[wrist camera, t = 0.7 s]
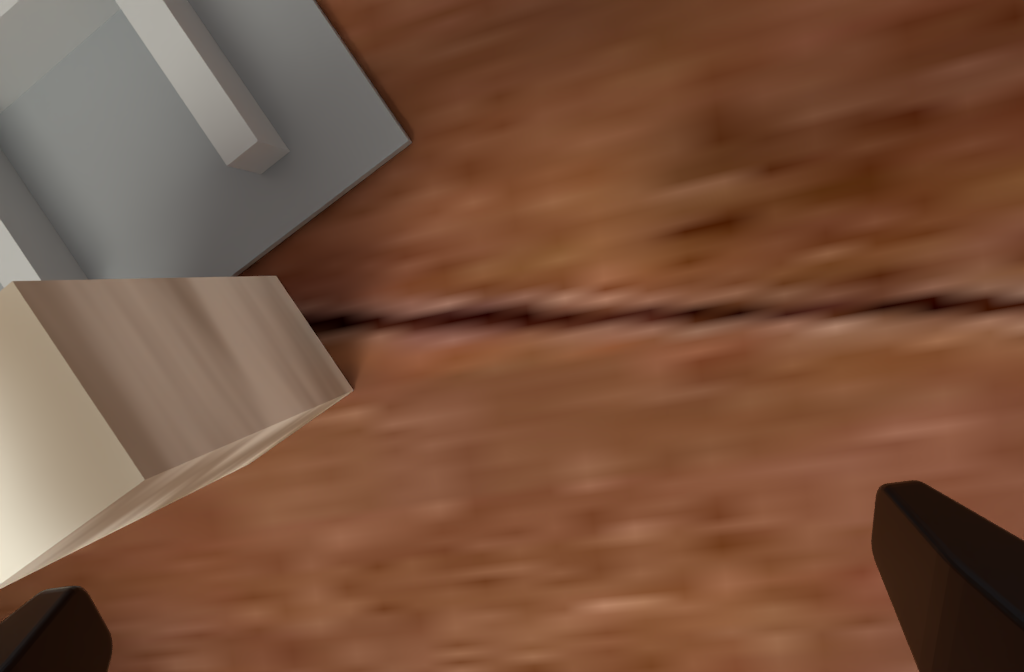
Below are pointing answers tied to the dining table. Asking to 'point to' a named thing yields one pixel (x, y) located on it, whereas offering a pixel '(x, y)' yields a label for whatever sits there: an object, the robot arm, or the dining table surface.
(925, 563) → the robot arm
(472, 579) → the dining table surface
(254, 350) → the link block
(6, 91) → the keeper bracket
